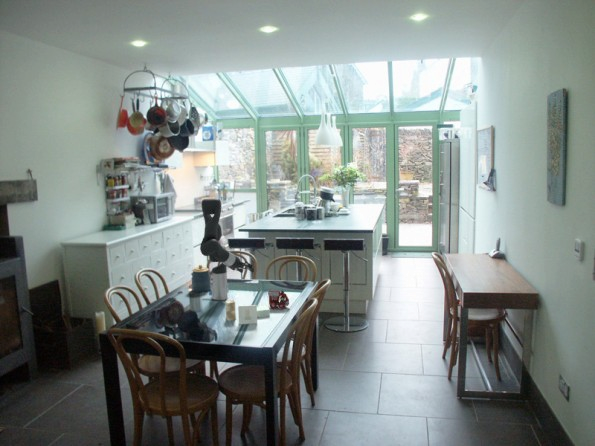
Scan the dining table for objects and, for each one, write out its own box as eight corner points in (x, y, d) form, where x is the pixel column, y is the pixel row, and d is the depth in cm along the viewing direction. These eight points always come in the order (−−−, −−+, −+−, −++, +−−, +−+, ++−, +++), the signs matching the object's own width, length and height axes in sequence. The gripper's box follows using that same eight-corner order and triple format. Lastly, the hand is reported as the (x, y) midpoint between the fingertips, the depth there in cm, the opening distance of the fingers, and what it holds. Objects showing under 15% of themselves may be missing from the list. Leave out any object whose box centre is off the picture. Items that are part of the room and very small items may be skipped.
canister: (195, 287, 349) (194, 262, 346) (213, 287, 347) (212, 262, 345) (189, 292, 336) (187, 266, 334) (207, 292, 334) (206, 267, 332)
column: (227, 320, 276) (227, 303, 275) (226, 318, 280) (225, 301, 279) (235, 319, 277) (235, 302, 276) (234, 317, 281) (233, 300, 280)
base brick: (256, 317, 280) (255, 311, 280) (252, 313, 288) (252, 307, 287) (269, 316, 283) (269, 309, 282) (266, 312, 290) (265, 305, 290)
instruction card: (238, 324, 269) (238, 306, 268) (238, 322, 272) (238, 304, 271) (257, 323, 270) (256, 305, 269) (257, 321, 273) (256, 304, 272)
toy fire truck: (287, 309, 294) (287, 292, 293) (267, 309, 296) (266, 292, 294) (289, 306, 301) (289, 289, 299) (269, 305, 303) (269, 289, 301)
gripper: (241, 253, 274) (258, 264, 285) (222, 254, 282) (240, 265, 293) (237, 265, 270) (255, 276, 282) (218, 266, 279) (237, 277, 290)
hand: (247, 271), depth 288 cm, fingers open, 8 cm apart
